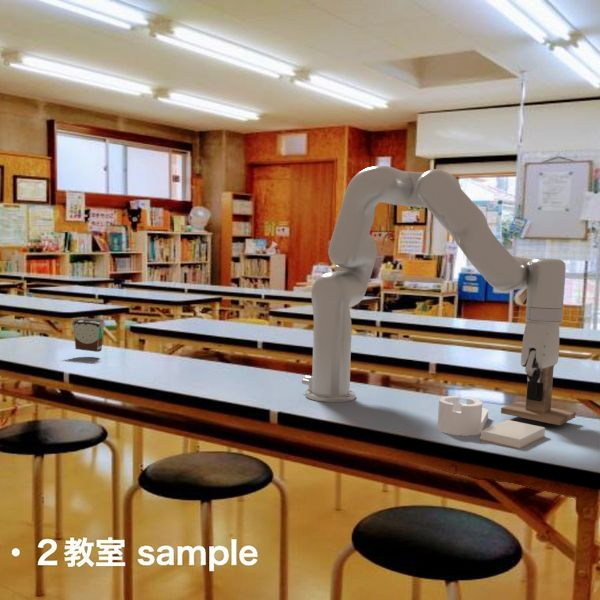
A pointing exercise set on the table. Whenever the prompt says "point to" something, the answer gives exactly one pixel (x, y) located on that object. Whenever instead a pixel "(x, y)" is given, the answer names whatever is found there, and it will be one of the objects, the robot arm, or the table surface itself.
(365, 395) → the table surface
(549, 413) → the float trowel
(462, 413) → the bracket
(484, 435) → the glazed tile
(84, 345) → the food container
